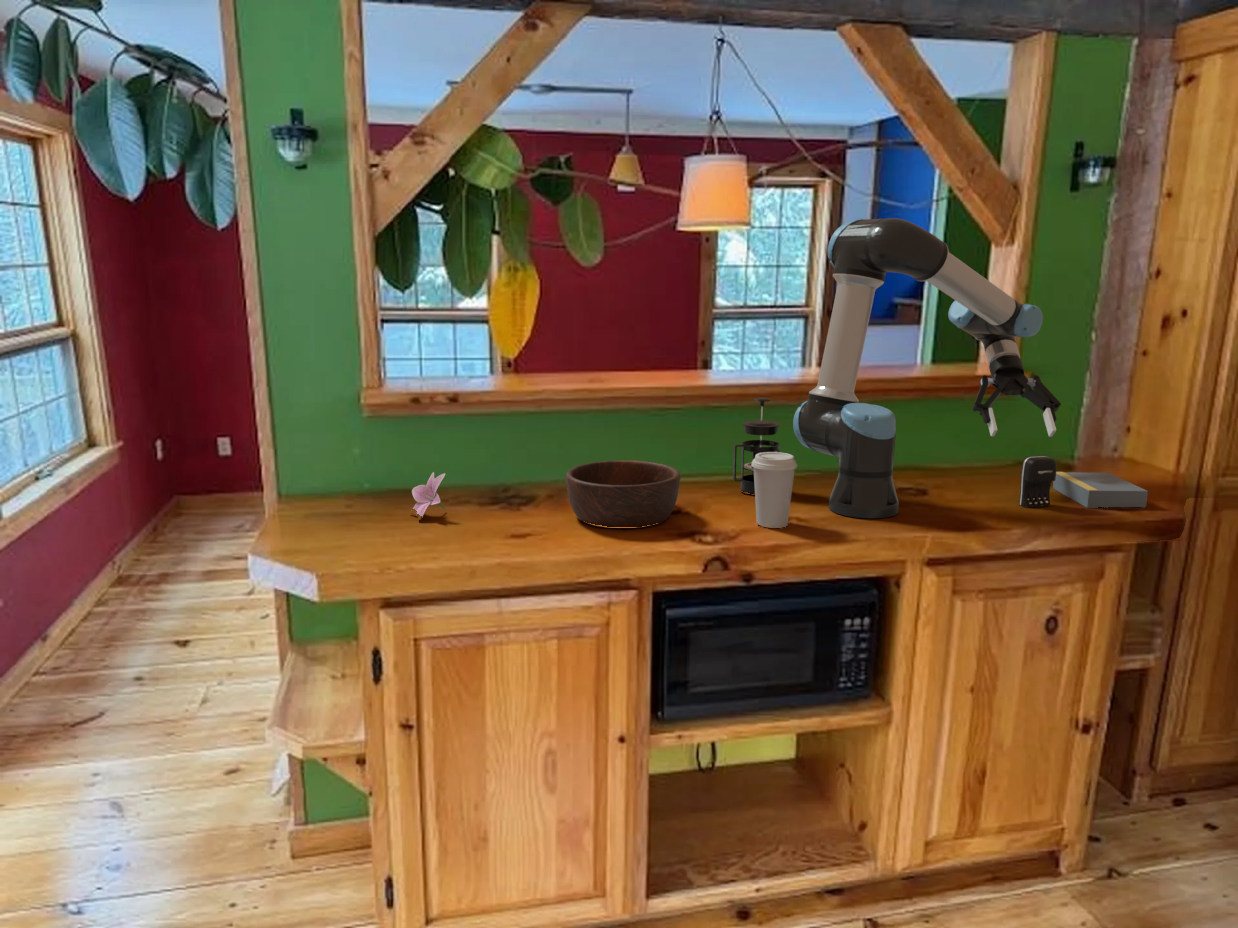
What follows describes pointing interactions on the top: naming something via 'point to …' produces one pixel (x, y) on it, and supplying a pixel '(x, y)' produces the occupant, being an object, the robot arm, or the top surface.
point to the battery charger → (1036, 481)
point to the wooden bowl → (623, 492)
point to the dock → (1099, 490)
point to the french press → (755, 446)
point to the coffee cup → (773, 487)
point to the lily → (427, 494)
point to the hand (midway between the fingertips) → (1023, 433)
